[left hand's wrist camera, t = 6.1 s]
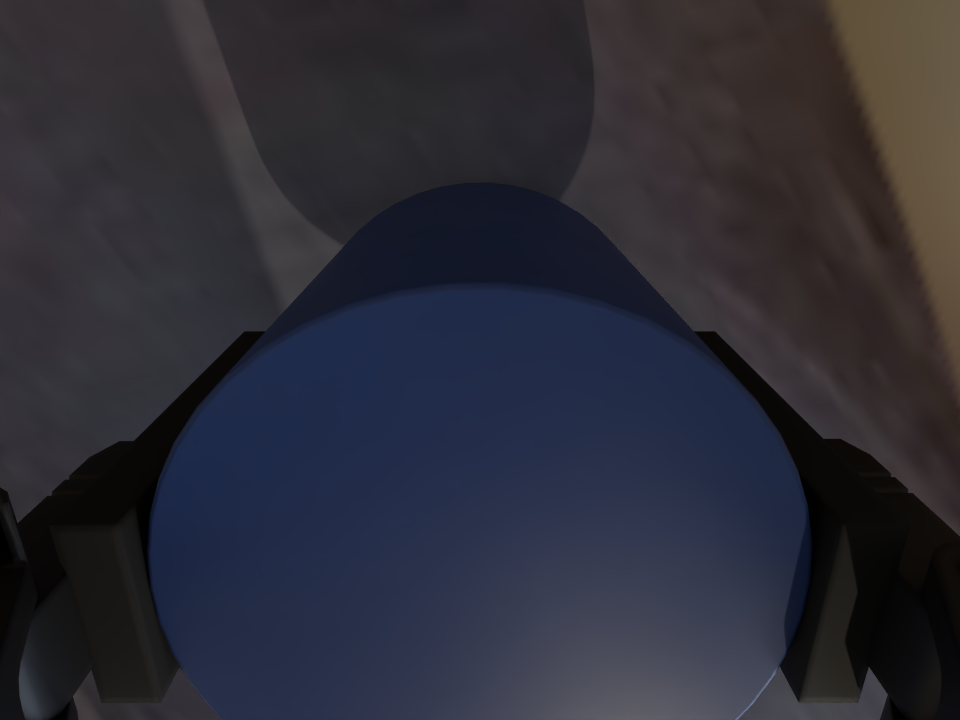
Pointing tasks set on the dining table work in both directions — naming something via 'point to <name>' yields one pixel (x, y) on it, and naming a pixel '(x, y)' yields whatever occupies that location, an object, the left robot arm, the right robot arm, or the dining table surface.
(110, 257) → the dining table surface
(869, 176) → the dining table surface
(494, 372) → the canister
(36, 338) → the dining table surface
